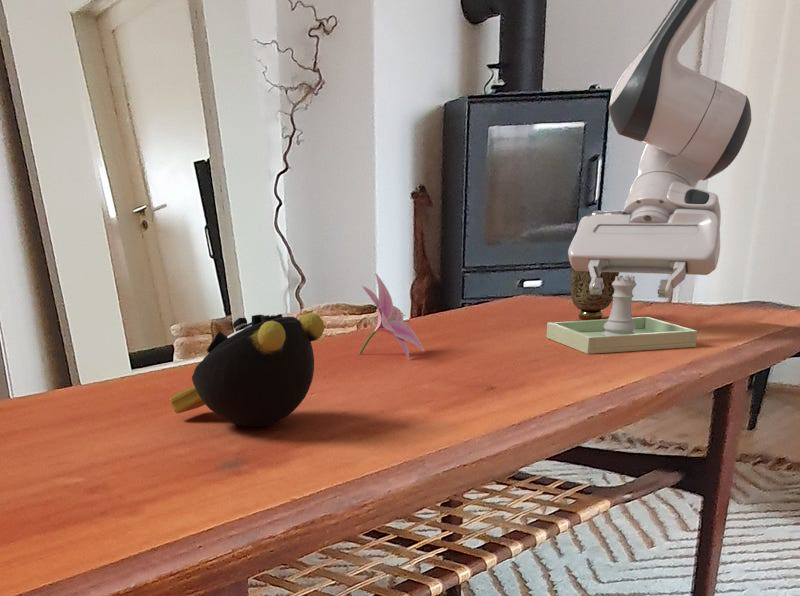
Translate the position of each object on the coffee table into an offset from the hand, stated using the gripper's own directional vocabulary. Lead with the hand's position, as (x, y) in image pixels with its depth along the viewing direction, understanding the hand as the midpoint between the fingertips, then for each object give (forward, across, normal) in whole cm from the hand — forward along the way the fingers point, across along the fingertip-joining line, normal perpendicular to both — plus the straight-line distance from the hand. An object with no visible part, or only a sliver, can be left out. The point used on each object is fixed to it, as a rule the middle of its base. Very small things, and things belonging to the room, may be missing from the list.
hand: (628, 293), depth 133 cm
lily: (+21, -25, -12) cm, 35 cm away
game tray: (+6, 0, +3) cm, 7 cm away
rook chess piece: (+6, 0, +3) cm, 6 cm away
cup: (-7, -10, +16) cm, 20 cm away
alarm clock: (+49, -20, -40) cm, 66 cm away
